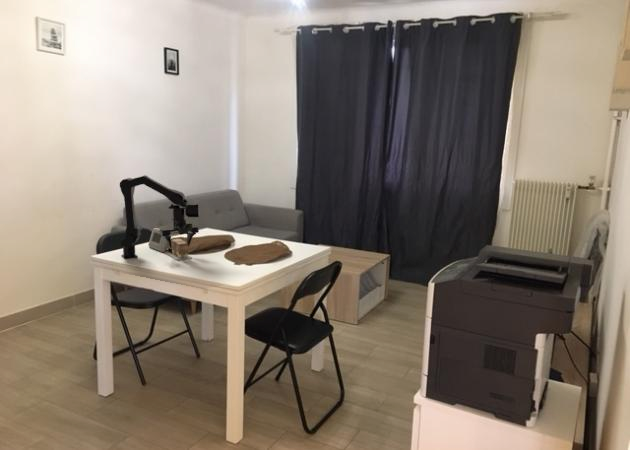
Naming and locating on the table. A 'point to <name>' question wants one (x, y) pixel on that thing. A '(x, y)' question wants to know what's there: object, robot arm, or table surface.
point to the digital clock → (158, 241)
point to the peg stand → (179, 256)
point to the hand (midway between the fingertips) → (179, 247)
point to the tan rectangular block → (179, 246)
